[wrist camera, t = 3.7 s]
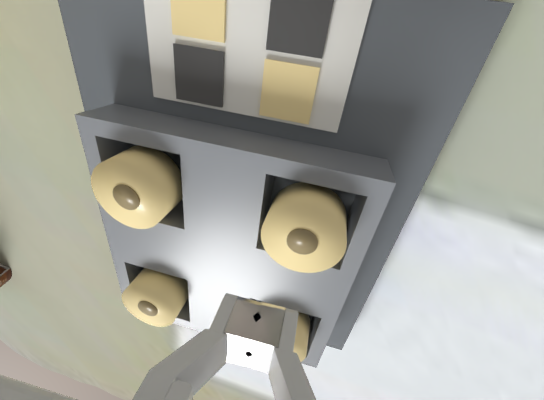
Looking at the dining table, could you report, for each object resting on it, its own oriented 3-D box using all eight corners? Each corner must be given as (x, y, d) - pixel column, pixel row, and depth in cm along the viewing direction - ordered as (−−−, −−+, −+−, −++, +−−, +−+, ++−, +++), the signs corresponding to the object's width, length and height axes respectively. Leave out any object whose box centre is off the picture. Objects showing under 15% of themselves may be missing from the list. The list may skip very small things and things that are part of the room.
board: (491, 8, 12) (566, -8, 8) (341, 330, 26) (341, 384, 22) (77, -46, 15) (-25, -79, 11) (139, 271, 29) (105, 310, 25)
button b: (189, 272, 21) (172, 298, 19) (191, 307, 23) (175, 334, 21) (138, 258, 21) (116, 281, 19) (145, 293, 24) (126, 318, 22)
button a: (315, 308, 20) (312, 340, 17) (304, 341, 22) (300, 373, 20) (258, 292, 20) (248, 321, 18) (252, 326, 22) (243, 355, 20)
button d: (183, 153, 15) (157, 171, 13) (186, 214, 18) (165, 237, 16) (115, 138, 16) (80, 152, 14) (126, 199, 18) (99, 220, 16)
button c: (356, 192, 14) (358, 218, 12) (335, 252, 17) (334, 282, 14) (276, 174, 15) (265, 196, 13) (267, 235, 17) (256, 262, 15)
